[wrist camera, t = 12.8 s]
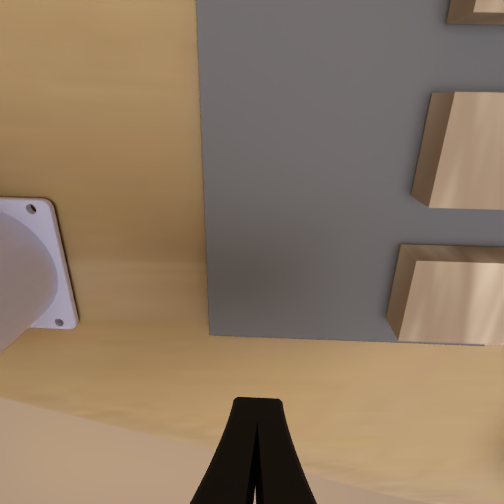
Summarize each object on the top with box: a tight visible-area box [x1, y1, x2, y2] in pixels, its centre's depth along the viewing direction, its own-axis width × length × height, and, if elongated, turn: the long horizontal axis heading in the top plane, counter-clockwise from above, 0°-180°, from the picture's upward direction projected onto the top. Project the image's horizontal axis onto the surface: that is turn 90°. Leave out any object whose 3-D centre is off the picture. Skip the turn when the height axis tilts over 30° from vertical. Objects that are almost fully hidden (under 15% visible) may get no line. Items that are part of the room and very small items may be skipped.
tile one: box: [386, 244, 504, 345], centre depth 18 cm, size 2×4×6 cm
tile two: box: [411, 92, 504, 210], centre depth 15 cm, size 2×4×6 cm
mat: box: [196, 0, 504, 346], centre depth 16 cm, size 16×22×1 cm
